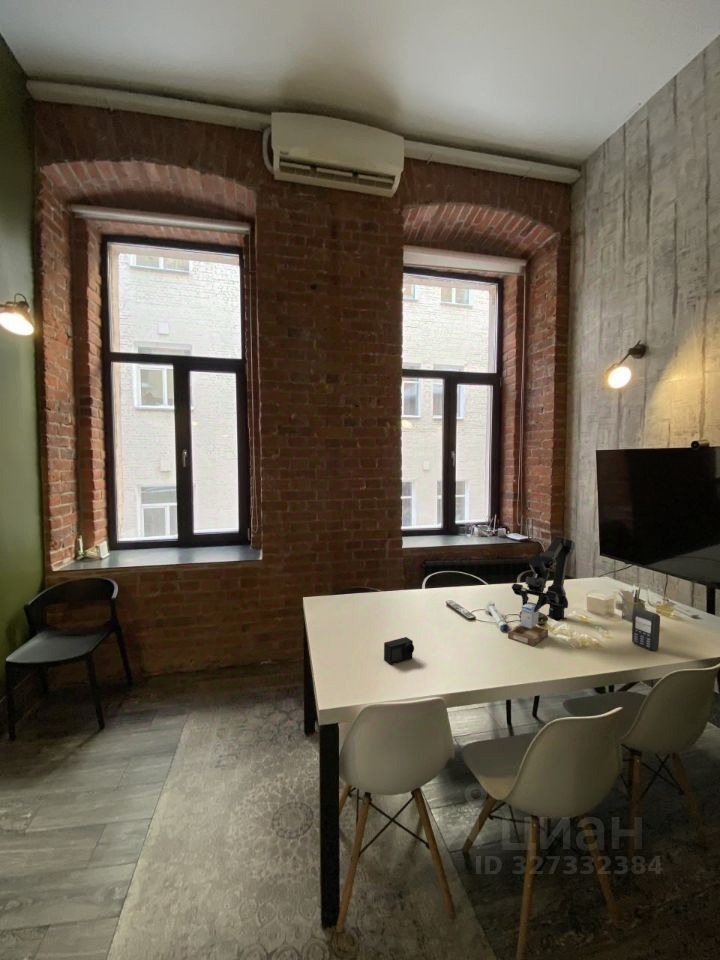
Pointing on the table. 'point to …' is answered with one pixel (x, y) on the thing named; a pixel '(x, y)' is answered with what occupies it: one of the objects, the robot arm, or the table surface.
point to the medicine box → (529, 615)
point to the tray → (528, 634)
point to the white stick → (496, 616)
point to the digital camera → (398, 650)
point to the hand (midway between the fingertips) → (528, 610)
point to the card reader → (645, 629)
